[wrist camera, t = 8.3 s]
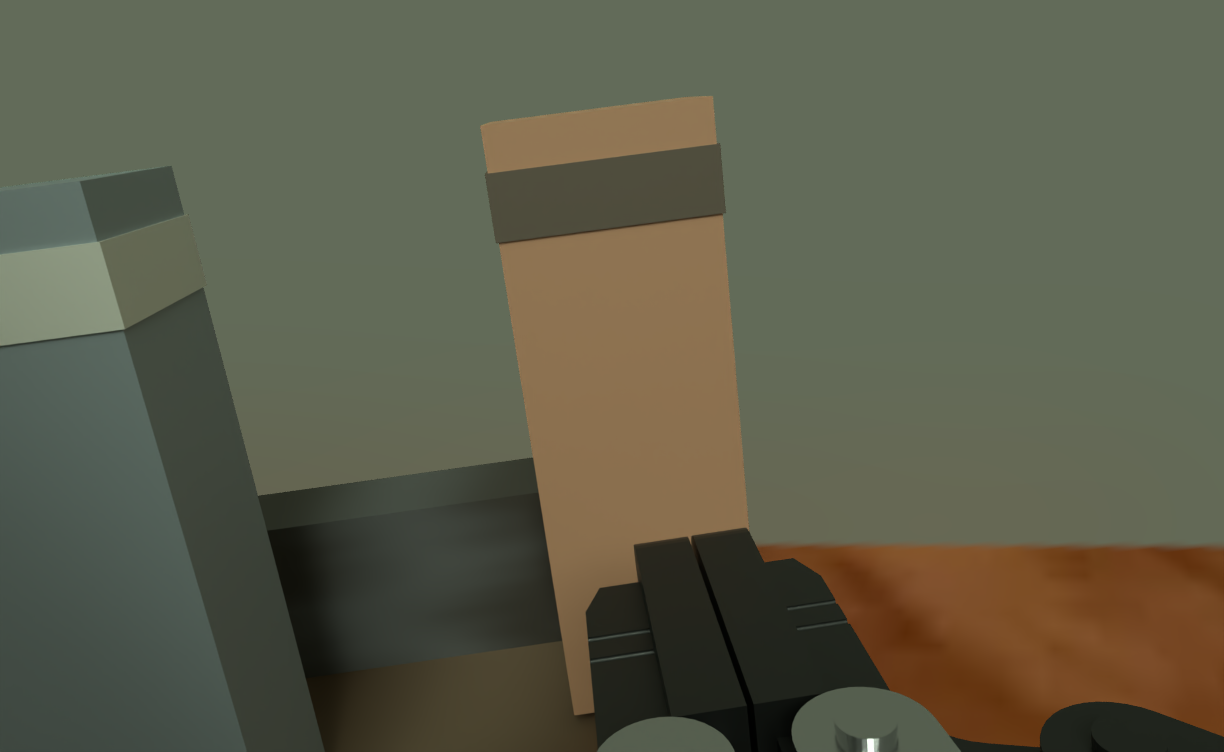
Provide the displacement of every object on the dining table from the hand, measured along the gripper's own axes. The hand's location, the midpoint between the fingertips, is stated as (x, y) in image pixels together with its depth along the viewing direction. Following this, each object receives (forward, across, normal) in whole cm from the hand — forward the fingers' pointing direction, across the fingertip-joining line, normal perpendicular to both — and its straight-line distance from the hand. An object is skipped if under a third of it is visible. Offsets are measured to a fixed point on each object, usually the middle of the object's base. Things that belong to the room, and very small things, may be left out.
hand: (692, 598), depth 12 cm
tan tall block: (+7, 0, +6) cm, 9 cm away
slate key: (+4, +9, +6) cm, 11 cm away
